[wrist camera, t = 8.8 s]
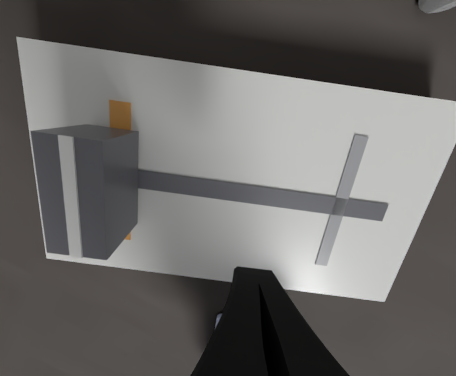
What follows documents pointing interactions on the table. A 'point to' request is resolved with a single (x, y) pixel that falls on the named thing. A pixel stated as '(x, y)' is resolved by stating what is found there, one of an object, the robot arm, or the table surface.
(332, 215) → the white flat rectangular block
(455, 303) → the table surface
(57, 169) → the fader tab
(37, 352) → the table surface
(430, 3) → the electrical switch
